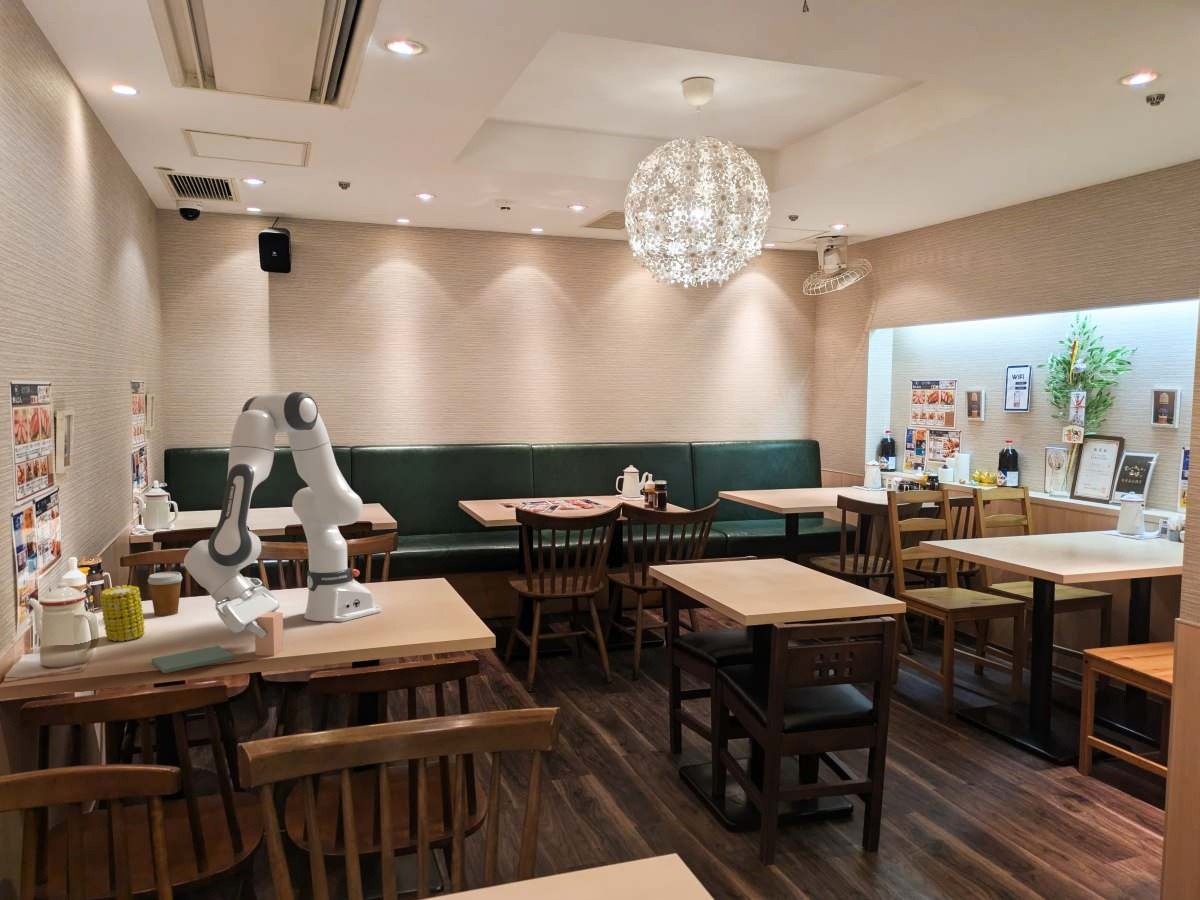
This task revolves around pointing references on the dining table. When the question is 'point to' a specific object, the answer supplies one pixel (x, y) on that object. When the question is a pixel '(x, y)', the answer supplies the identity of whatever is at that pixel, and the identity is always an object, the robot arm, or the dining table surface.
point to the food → (122, 613)
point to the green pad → (191, 659)
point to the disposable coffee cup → (165, 592)
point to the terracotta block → (270, 634)
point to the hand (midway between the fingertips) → (271, 632)
